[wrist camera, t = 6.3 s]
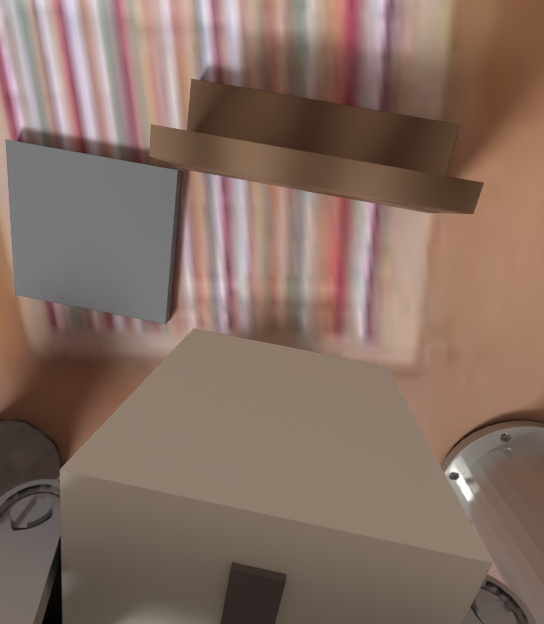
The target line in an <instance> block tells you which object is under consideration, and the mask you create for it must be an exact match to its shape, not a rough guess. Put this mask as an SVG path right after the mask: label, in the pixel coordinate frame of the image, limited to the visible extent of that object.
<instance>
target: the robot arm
mask: <svg viewBox="0 0 544 624" xmlns="http://www.w3.org/2000/svg"><path fill="white" fill-rule="evenodd" d="M441 468H442V470H443V472H444V474H445V475H446V477H447V479H448V481H449V483H450V485H451V487H452V488H453V490H454V492H455V494H456V496H457V498H458V500H459V502H460V503H461V505H462V507H463V509H464V511H465V513H466V515H467V517H468V518H469V520H470V522H471V524H472V526H473V528H474V530H475V531H476V533H477V535H478V537H480V538H481V540H482V542H483V544H484V545H485V547H486V549H487V551H488V553H489V555H490V556H491V558H492V560H493V562H494V564H495V566H496V567H497V569H498V571H499V573H500V575H501V577H502V578H503V580H504V582H505V584H506V585H505V584H503V583H502V582H500V581H499V580H497V579H495V578H494V577H492V576H490V575H486V577H485V579H484V581H483V583H482V585H481V587H480V589H479V591H478V593H477V595H476V597H475V599H474V601H473V603H472V605H471V607H470V609H469V611H468V613H467V615H466V617H465V619H464V621H463V623H462V624H544V423H539V422H533V421H510V422H502V423H498V424H495V425H491V426H487V427H485V428H483V429H481V430H478V431H476V432H474V433H472V434H471V435H469V436H468V437H466V438H465V439H463V440H462V441H461V442H460V443H459V444H458V445H456V446H455V447H454V448H453V449H452V451H451V452H450V453H449V455H448V456H447V457H446V459H445V460H444V463H443V465H442V467H441ZM0 624H62V572H61V518H60V479H59V480H54V479H40V480H34V481H30V482H27V483H24V484H21V485H19V486H17V487H15V488H13V489H11V490H10V491H8V492H6V493H5V494H4V495H3V496H2V497H0Z"/></svg>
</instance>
